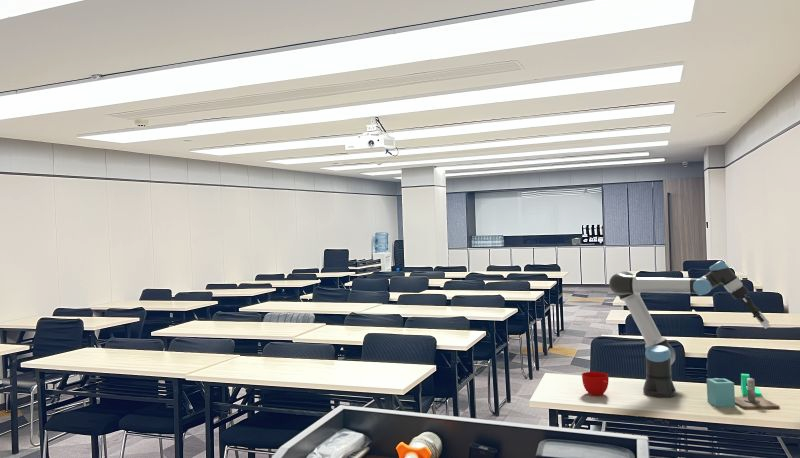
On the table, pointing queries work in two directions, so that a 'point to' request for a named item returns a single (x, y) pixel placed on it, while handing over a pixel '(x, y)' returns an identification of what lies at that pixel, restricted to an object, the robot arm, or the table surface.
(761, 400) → the board
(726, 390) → the teal open-top box
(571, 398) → the table surface
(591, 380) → the ceramic cup
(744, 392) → the camera mount
